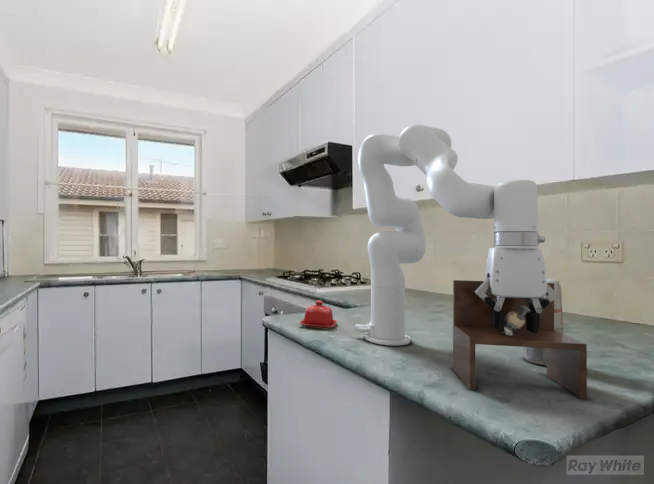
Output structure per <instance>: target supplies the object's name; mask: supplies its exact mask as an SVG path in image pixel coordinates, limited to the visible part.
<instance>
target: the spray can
mask: <svg viewBox="0 0 654 484" xmlns="http://www.w3.org/2000/svg"><path fill="white" fill-rule="evenodd" d="M546 282H547V283H554V291H555V292H556V293H557V294H558V297H557V298H556V299H555V300H554V330H555V331H557V332H559V333H562V334H564V325H563V324H564V320H563V304H562V303H563V295H562V287H561V283H560V281H559V280H557V279H554V278H553V279H552V278H546ZM523 352H524V353H523V354H524V360H526V361H527V362H529V363H532V364H535V365H541V366H547V348H534V347H523Z"/></svg>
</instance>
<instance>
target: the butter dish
mask: <svg viewBox="0 0 654 484" xmlns="http://www.w3.org/2000/svg"><path fill="white" fill-rule="evenodd" d="M323 303H324V301H323V300H320V299H317V300H315V304H313V305H309V306H308V307H307V308H306V309H305V311H304V317H303V319H302V320H301V321H299V325H302V326H305V327H306V328H315V329H325V330H327V329H329V328H333V327H335V326H336V324H337V323H338V320H337V319H334V315H333V310H332V308H331V307H329V306H326V305H323Z"/></svg>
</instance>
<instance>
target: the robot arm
mask: <svg viewBox="0 0 654 484" xmlns="http://www.w3.org/2000/svg"><path fill="white" fill-rule="evenodd" d="M458 160H459V157H458V153H457V152H456V151H455V150H454V149H453V148H452V139H451V136H450V134H449V133H448V132H447V131H445V130H444V129H441V128H437V127H432V126H429V125H424V124H411V125H408V126H407V127H405V128H404V129H403V130H402V131H401V132H400V134H399V136H397V135H394V134H387V133H372V134H370V135H368V136H366V137H365V138H364V140H363V141H362V143H361V144H360V146H359V149H358V155H357V165H358V170H359V173H360V177H361V180H362V183H363V189H364V196H365V202H366V203H365V204H366V210H367V215H368V220H369V222H370V224H371V225H372V226H374V227H377V228H384V229H385V228H389V229H395V230H381V231H377V232H375V233H374V234H372V235H371V236H370V237H369V240H368V242H367V255H368V259H369V266H370V267H369V268H370V321H369V322H368V323H365V324H359V323H358V324H356V323H355V324H354V331H355V332H359V333H365V334H364V338H365V340H366V341H367V342H369V343H373V344H376V345H381V346H382V345H383V346H393V347H395V346H396V347H397V346H406V345H409V344H410V343H411V341H412V340H411V337H410V336H409V335H407V334H406V277H405V274H404V271H403V269H402V267H401V264H414V263H418V262H420V261H421V260H422V259H423V257H424V256H425V254H426V239H425V233H424V227H423V222H422V216H421V211H420V209H419V207H418V205H417V203H416V202H415V201H414V200H413V199H411V198H409V197H405V196H397V194H396V192H395V189H394V181H393V178H392V176H391V175H390V172H389V171H388V170H387V169H386V167H385V165H389V166H397V167H413V166H416V167H417V168H419V170H420V171H421V172H422V173H423V174H424V175H425V177H426V178H425V179H426V180H425V181H426V187H427V189H428V192H429V194H430V196H431V197H432V198H433V199H434V201H436V202H437V203H438V204H439V205H440V206H441V207H442V208H443V209H444V210H445V211H446V212H447V213H449V214H451V215H452V216H454V217H457V218H466V219H469V218H470V219H479V220H480V219H481V220H491V219H493V247H489V248H488V252H487V256H486V258H487V259H486V264H485V272H484V280H483V281H484V282H483V283H482V284H481V285H480V286H479V287H478V288H477V289H476V290H475V294H476V295H477V296H478V297H479V298H481V299H482V300H483V301H484V302H485V303H486V304H487V305H488V306H489V307H490V308H491V309H492V325H493V326H494V328H495V329H496V330H498V331H501V332H503V331H504V312H502V305H503V302H504V300H505V297H510V298H526V301H527V304H528V306H529V309H530V310H531V312H529V313H526V329H527V330H528V331H530V332H532V333H537V328H539V313H541V312H542V310H543V309H544V308H545V307H546V306H547V305H549V303H550V302H552V301H553V300H555V299H556V298H557V297H558V294H557V293H556V292H555V291H554V290H553V289H552V288H551V287H550V286H549V285H548V284H547V282H546V279H547V272H546V263H545V259H544V255H543V250H542V248H538V247H539V246H540V244H541V243H542V244H543V243H545V242H546V237H545V236H544V235H540V233H539V232H538V231H539V230H538V229H539V228H538V224H539V221H538V219H539V218H538V217H539V216H538V211H539V209H538V207H539V203H538V202H539V201H538V198H539V197H538V195H539V194H538V185H537V183H536V182H535V181H533V180H531V179H510V180H503V181H500V182H498V183H497V184H496V185H488V184H483V183H482V184H480V183H474V182H468V181H466V180H465V179H463V178H462V177H461V176H460V175H459V174H457V172H455V171H454V169H455V168H456V166H457V164H458ZM485 292H487V293H489V294H493V297H492V299H491V298H490V297H488V296H487V295H486V293H485ZM542 297H543V298H542ZM538 298H540V299H538Z"/></svg>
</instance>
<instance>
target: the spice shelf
mask: <svg viewBox="0 0 654 484" xmlns="http://www.w3.org/2000/svg"><path fill="white" fill-rule="evenodd" d="M484 281H485V280H471V279H470V280H468V279H467V280H466V279H465V280H464V279H453V280H452V294H453V295H452V370H454V372H455V373H456V375H457V376H458V377H459V378H460V379H461V381H463V383H464V384H465V385H466V387H468V389H469V390H475V391H476V345H485V346H500V347H501V346H503V347H518V348H519V347H520V348H524V347H534V348H547V365H546V376H547V377H548V378H550V379H551V380H553V381H554V382H556V383H557V384H559V385H560V386H562V387H564V388H565V389H566V390H568V391H570V393H572V394H574V395H575V396H577V397H578V398H581V399H588V355H587V354H588V351H587V349H588V346H587V343H585V342H582V341H581V340H578V339H576V338H574V337H571V336H568V335H566V334H564V333H563V334H562V333H559V332H557V331H555V330H554V300H553V301H552V302H550V303H549V305H547V306H546V307H545V308H544V309H543V310H542V312H541V313H539V328H537V333H532V332H530V331H528V330H527V329H526V314H525V315H524V318H525V324H524V325H523V327H522V328H520V329H518V330H513V334H514V335H506V333H500V331H497V330H496V329H495V328H494V326H493V325H492V309H491V308H490V307H489V306H488V305H487V304H486V303H485V302H484V301H483V300H482V299H481V298H479V297H478V296H477V295H476V294H475V290H476V289H477V288H478V287H479V286H480V285H481V284H482V283H483V282H484ZM547 284H548V285H549V286H550V287H551V288H552V289H553V290H554V283H547ZM485 293H486V295H487V296H488V297H490V298H491V299H492V297H493V294H489V293H487V292H485ZM542 298H543V297H542ZM538 299H540V298H538ZM518 305H524V306H526V307H528V308H529V306H528V304H527V301H526V298H510V297H505V300H504V302H503V305H502V312H504V320H505V316H506V315H507V314H508V313H509V312H513V311H515V312H516V311H517V310H518ZM503 306H504V307H503ZM504 326H505V322H504ZM514 331H515V332H514Z"/></svg>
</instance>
